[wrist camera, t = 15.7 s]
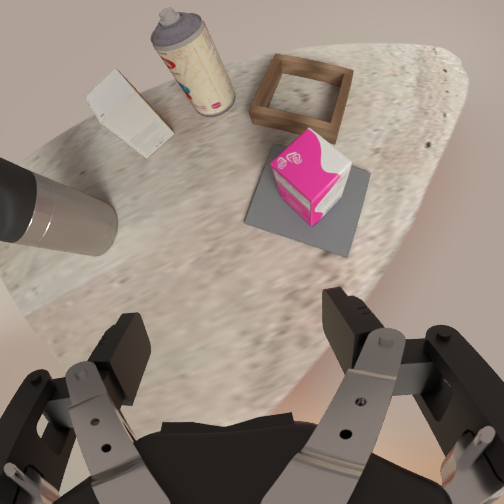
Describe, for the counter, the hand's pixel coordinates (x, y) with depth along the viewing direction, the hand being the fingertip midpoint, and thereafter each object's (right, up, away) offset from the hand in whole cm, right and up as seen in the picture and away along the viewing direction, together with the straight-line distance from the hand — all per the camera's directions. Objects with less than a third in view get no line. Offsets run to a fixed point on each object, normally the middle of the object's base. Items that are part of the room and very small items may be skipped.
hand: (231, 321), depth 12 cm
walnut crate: (+9, +26, +26) cm, 38 cm away
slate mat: (+9, +10, +25) cm, 28 cm away
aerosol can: (-5, +27, +29) cm, 41 cm away
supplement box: (+9, +10, +24) cm, 28 cm away
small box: (-16, +23, +31) cm, 42 cm away
